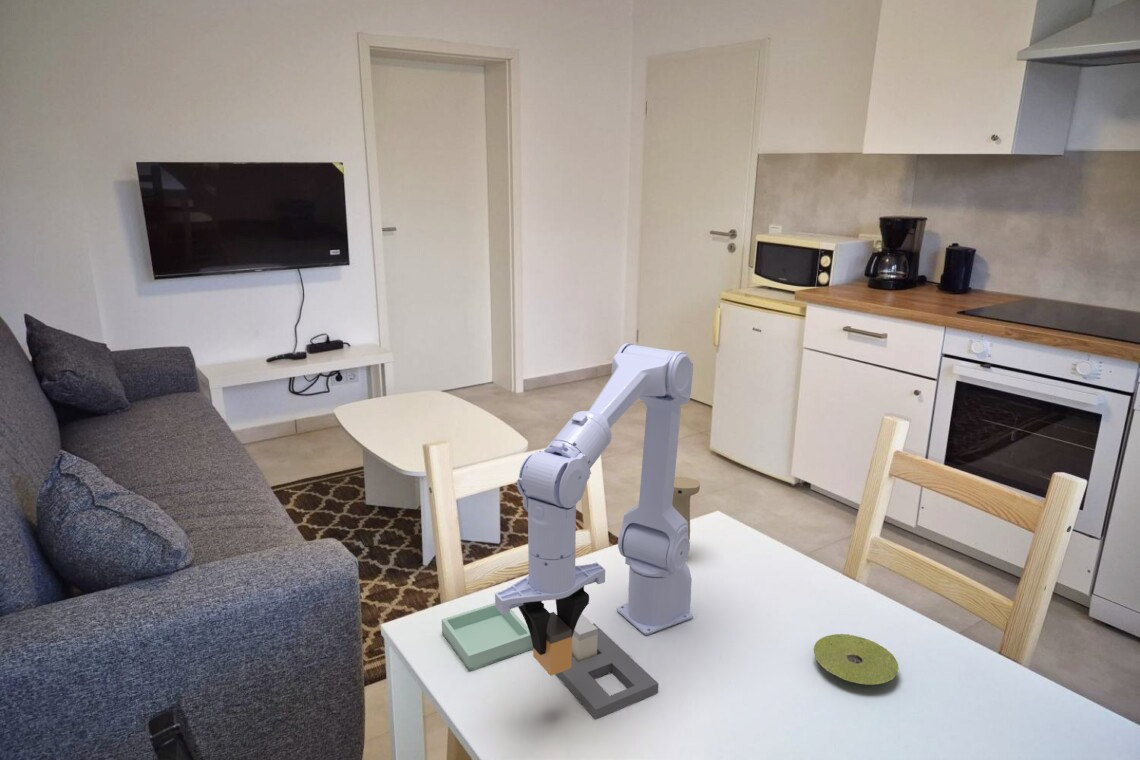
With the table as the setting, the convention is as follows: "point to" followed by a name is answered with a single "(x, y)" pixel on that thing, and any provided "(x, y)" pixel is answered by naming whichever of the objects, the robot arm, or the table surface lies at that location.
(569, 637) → the block
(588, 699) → the block
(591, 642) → the block
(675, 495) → the handle
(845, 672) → the green sanding disc
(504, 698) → the table surface
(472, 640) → the parts tray
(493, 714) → the table surface
